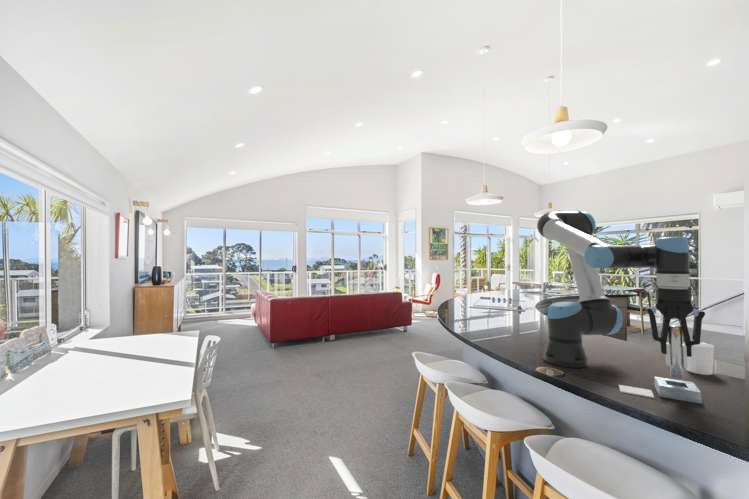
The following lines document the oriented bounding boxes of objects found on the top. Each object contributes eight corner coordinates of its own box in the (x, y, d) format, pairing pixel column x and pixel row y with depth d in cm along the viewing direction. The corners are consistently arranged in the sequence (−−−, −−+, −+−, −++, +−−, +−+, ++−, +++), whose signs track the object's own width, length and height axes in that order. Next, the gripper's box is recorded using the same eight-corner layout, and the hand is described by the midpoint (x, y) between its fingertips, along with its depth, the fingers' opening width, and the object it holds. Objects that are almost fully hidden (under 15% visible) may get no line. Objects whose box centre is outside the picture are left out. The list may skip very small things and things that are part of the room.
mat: (620, 392, 100) (620, 390, 100) (618, 385, 105) (618, 384, 105) (654, 398, 96) (654, 396, 96) (651, 391, 101) (651, 390, 101)
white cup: (717, 377, 112) (716, 348, 112) (685, 372, 117) (685, 344, 117) (712, 371, 118) (711, 343, 119) (682, 366, 123) (681, 340, 123)
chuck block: (659, 396, 97) (659, 385, 97) (654, 386, 104) (654, 376, 104) (701, 403, 92) (701, 392, 92) (693, 392, 99) (693, 382, 99)
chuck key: (672, 378, 96) (670, 327, 97) (668, 372, 101) (666, 324, 102) (686, 380, 95) (683, 328, 95) (681, 374, 100) (679, 325, 100)
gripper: (640, 287, 100) (643, 364, 99) (714, 289, 91) (718, 374, 91) (638, 286, 107) (640, 358, 106) (706, 288, 98) (709, 367, 97)
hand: (676, 365), depth 98 cm, fingers closed on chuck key, 3 cm apart
